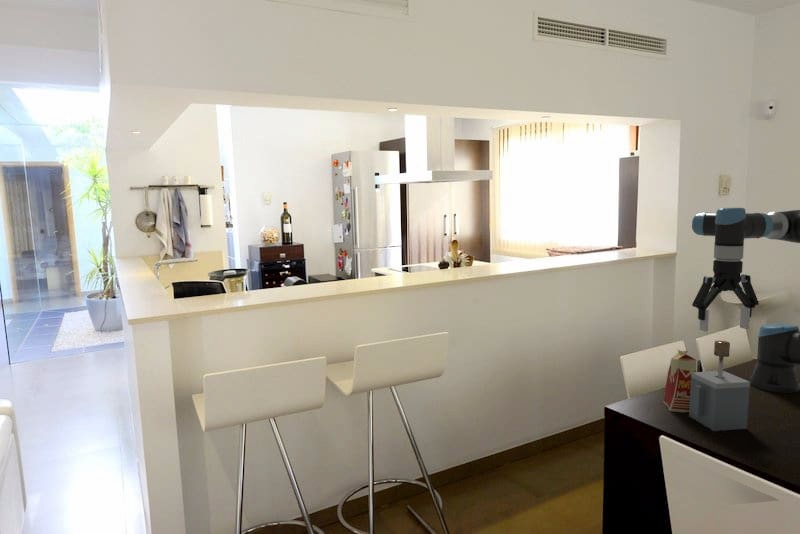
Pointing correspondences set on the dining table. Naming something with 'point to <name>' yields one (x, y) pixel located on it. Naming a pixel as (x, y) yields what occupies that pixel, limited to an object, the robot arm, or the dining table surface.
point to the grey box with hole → (719, 400)
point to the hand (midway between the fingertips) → (724, 329)
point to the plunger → (721, 354)
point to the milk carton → (679, 382)
